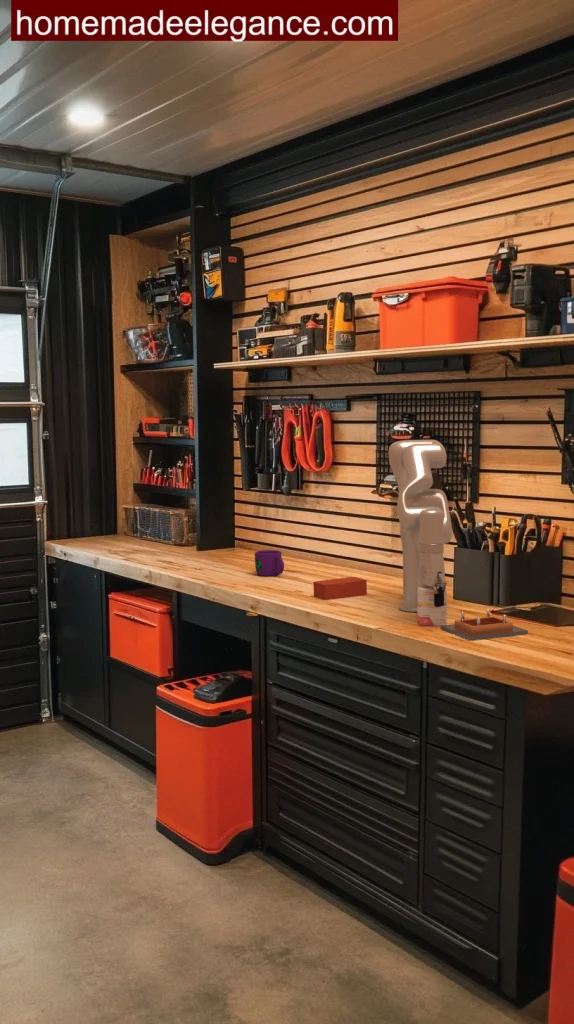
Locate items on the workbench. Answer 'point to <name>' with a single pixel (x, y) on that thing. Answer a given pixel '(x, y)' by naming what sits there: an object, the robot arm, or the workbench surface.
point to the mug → (268, 563)
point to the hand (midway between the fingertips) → (432, 603)
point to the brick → (340, 588)
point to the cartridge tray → (483, 627)
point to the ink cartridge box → (430, 607)
